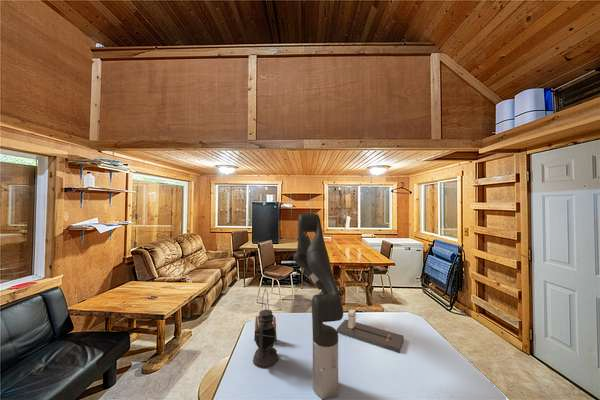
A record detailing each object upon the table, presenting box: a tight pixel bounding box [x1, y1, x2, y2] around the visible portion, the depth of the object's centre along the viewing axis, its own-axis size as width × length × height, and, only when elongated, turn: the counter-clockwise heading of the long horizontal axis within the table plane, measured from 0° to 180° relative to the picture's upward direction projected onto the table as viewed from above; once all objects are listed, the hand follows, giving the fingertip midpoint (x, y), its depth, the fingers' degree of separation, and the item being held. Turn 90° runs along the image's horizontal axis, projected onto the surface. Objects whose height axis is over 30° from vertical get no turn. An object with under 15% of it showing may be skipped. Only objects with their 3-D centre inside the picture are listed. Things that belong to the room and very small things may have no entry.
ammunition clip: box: [254, 315, 278, 343], centre depth 112 cm, size 11×2×12 cm, turn 87°
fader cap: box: [347, 308, 357, 329], centre depth 121 cm, size 2×4×8 cm, turn 148°
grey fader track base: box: [336, 318, 405, 354], centre depth 116 cm, size 30×12×2 cm, turn 58°
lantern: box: [252, 288, 279, 369], centre depth 99 cm, size 12×11×30 cm
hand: (338, 304), depth 125 cm, fingers open, 8 cm apart
